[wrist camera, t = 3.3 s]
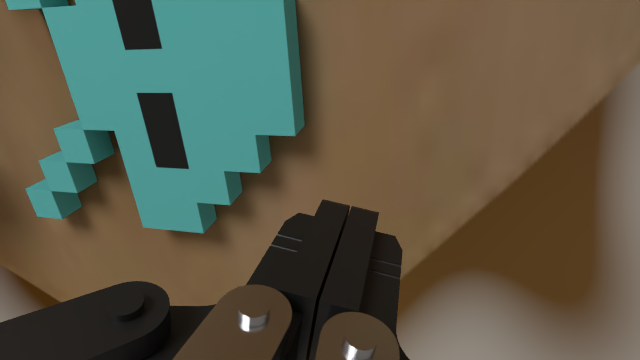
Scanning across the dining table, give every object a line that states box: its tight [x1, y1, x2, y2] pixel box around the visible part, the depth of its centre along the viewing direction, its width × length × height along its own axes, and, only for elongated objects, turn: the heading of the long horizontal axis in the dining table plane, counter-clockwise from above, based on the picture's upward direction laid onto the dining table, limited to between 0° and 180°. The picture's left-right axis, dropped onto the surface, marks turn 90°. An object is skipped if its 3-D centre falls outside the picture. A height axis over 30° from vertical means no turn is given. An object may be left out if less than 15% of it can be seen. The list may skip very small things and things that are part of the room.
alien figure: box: [5, 0, 305, 233], centre depth 21 cm, size 20×2×20 cm
